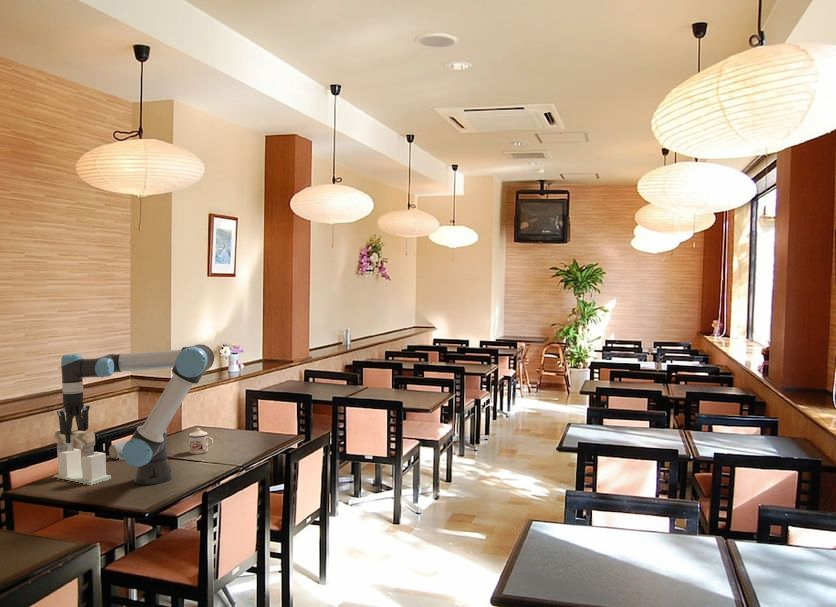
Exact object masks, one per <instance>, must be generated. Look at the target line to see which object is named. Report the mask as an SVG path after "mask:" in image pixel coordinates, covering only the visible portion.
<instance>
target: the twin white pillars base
mask: <svg viewBox="0 0 836 607" xmlns="http://www.w3.org/2000/svg"><path fill="white" fill-rule="evenodd" d="M106 456H107V455H106V453H105V452H99V451H94V455H90V456H87V457H86V456H83V455H82V449H79V448H74V451H65V452H61V453H59V452H57V467H58V468H57V470H58V473H57V474H54V475H53V478H54V477H58V478H62V479H66V480H70V481H75V482H79V483H78V484H80V483H83V484H82V485H86V484H87V486H93V484H94V485H96V483H97V484H100V483H102V481H103V482H106V481H109V479H110V480H112V475H110V474H107V462H106V461H107V459H106V458H107V457H106ZM70 481H69V482H70ZM75 482H74V483H75ZM99 482H100V483H99Z"/></svg>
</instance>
